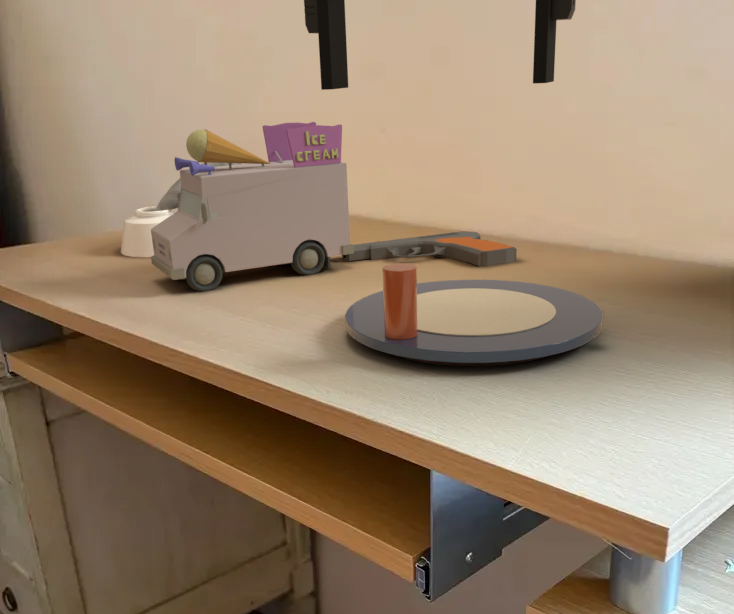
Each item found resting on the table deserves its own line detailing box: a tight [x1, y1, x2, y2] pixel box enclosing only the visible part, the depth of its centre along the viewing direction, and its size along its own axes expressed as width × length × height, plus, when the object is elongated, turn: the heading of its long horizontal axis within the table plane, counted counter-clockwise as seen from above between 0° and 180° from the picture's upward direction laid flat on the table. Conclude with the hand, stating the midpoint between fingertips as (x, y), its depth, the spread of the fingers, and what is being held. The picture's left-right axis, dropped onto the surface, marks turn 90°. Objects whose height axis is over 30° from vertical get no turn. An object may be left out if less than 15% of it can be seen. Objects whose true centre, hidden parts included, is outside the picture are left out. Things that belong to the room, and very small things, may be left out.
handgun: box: [341, 230, 518, 268], centre depth 90 cm, size 2×16×12 cm
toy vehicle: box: [150, 121, 355, 293], centre depth 84 cm, size 9×20×15 cm, turn 117°
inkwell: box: [120, 162, 242, 259], centre depth 102 cm, size 9×18×10 cm, turn 129°
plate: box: [344, 262, 604, 363], centre depth 64 cm, size 20×20×6 cm
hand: (434, 86), depth 52 cm, fingers open, 13 cm apart
